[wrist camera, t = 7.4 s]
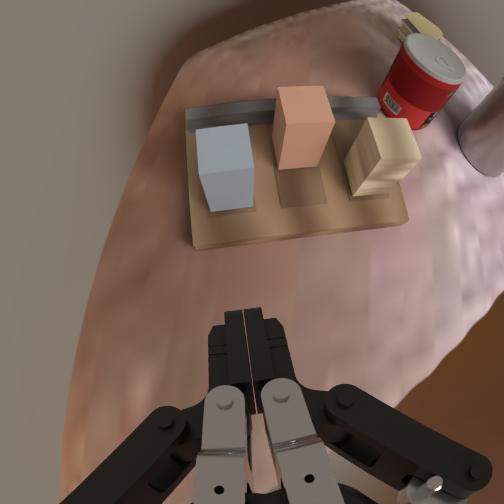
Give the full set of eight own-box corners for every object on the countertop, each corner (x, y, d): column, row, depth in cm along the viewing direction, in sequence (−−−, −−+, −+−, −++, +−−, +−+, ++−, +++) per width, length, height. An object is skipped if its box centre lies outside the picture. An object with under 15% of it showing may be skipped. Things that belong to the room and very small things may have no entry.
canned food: (427, 141, 35) (469, 92, 25) (372, 116, 36) (404, 58, 25) (429, 101, 37) (463, 53, 26) (379, 79, 37) (405, 23, 27)
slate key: (247, 169, 31) (247, 123, 24) (252, 206, 30) (254, 167, 23) (207, 174, 31) (195, 129, 23) (210, 212, 30) (198, 174, 23)
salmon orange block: (308, 134, 32) (323, 85, 25) (317, 166, 32) (335, 121, 24) (271, 136, 32) (277, 87, 24) (278, 169, 31) (286, 124, 24)
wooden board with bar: (364, 106, 36) (374, 84, 32) (401, 225, 33) (419, 212, 28) (187, 119, 35) (180, 95, 31) (196, 250, 32) (188, 239, 27)
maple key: (377, 159, 32) (406, 118, 24) (387, 193, 31) (421, 157, 23) (343, 161, 32) (367, 117, 24) (352, 196, 31) (381, 158, 23)
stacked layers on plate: (376, 33, 40) (385, 10, 35) (407, 26, 42) (417, 6, 36) (419, 73, 39) (433, 51, 33) (447, 63, 40) (460, 43, 34)
